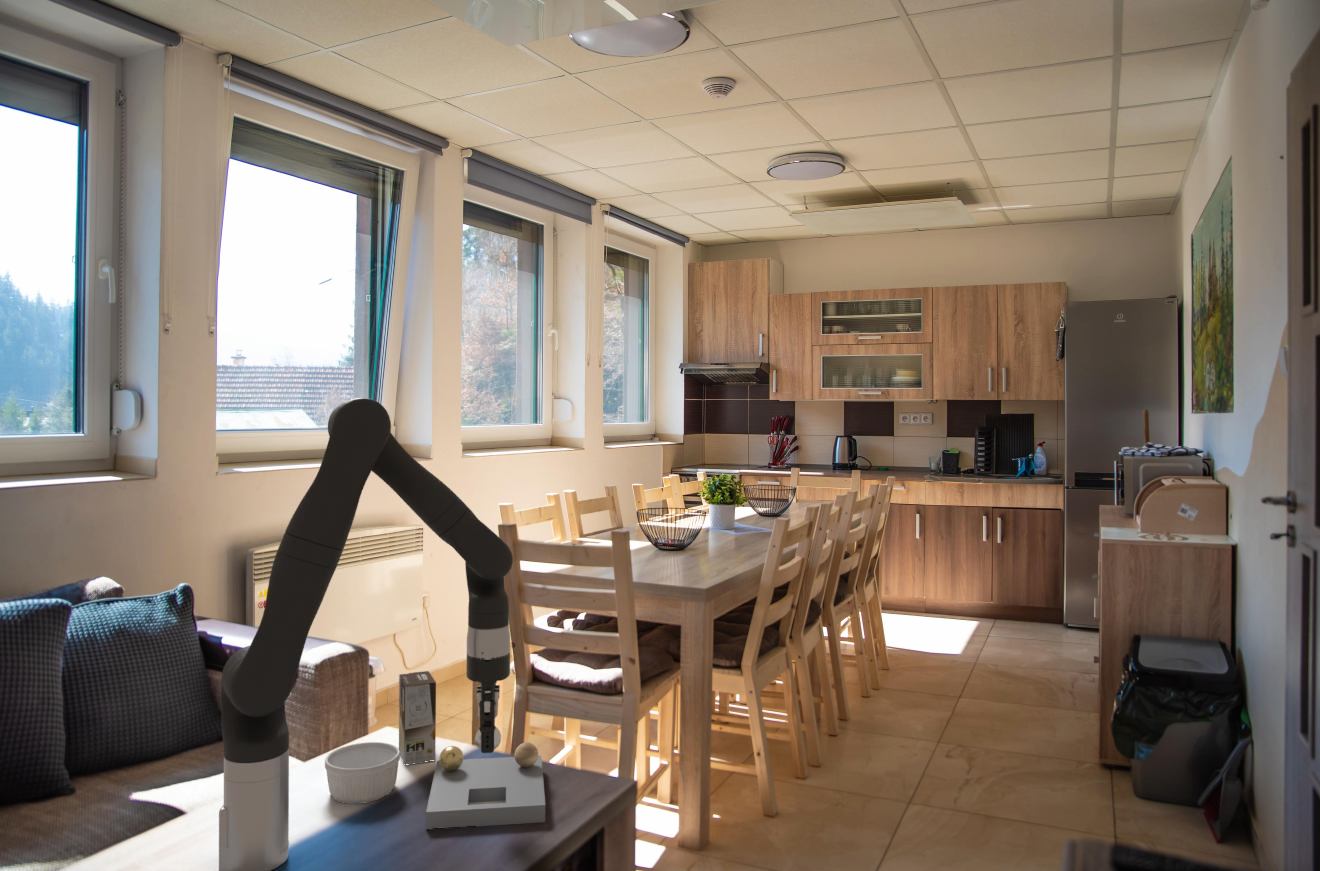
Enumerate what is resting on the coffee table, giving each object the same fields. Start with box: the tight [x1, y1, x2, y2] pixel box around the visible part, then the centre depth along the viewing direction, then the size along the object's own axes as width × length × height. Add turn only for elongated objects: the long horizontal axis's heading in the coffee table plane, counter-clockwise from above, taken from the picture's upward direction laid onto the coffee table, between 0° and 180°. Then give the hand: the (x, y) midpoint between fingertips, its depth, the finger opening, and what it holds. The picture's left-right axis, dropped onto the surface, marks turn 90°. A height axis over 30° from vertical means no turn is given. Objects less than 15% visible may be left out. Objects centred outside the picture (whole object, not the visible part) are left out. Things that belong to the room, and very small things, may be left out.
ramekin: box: [324, 741, 401, 804], centre depth 161 cm, size 13×13×7 cm
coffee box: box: [398, 670, 437, 766], centre depth 178 cm, size 9×6×16 cm
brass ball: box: [438, 745, 465, 771], centre depth 164 cm, size 4×4×4 cm
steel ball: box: [474, 726, 502, 750], centre depth 153 cm, size 4×4×4 cm
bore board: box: [425, 755, 546, 829], centre depth 159 cm, size 20×22×3 cm
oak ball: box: [514, 741, 539, 767], centre depth 166 cm, size 4×4×4 cm
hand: (487, 746), depth 153 cm, fingers closed on steel ball, 4 cm apart
